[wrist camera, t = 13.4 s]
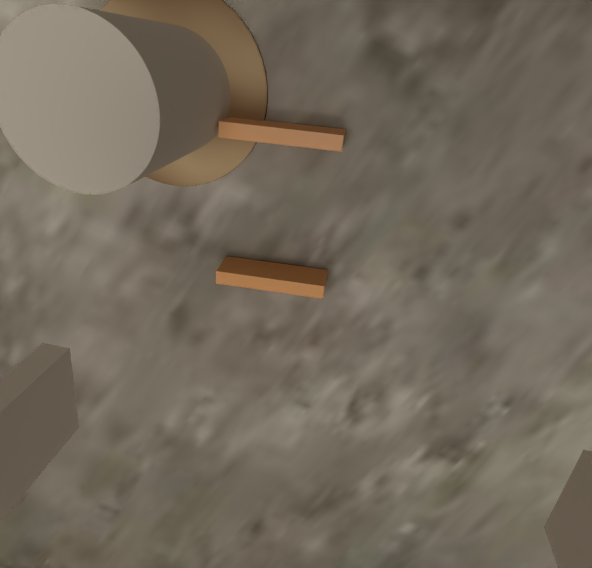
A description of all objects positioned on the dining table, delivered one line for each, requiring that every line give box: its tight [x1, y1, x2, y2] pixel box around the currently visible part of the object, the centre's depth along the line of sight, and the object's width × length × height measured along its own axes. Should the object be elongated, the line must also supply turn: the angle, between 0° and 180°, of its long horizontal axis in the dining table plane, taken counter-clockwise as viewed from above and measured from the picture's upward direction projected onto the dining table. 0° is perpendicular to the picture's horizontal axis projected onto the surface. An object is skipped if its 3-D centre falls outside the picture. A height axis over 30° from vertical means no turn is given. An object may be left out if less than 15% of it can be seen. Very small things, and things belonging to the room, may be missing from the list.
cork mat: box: [101, 0, 268, 186], centre depth 33 cm, size 13×13×1 cm
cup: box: [0, 4, 230, 195], centre depth 27 cm, size 8×8×12 cm
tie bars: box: [216, 117, 346, 299], centre depth 34 cm, size 12×8×3 cm
